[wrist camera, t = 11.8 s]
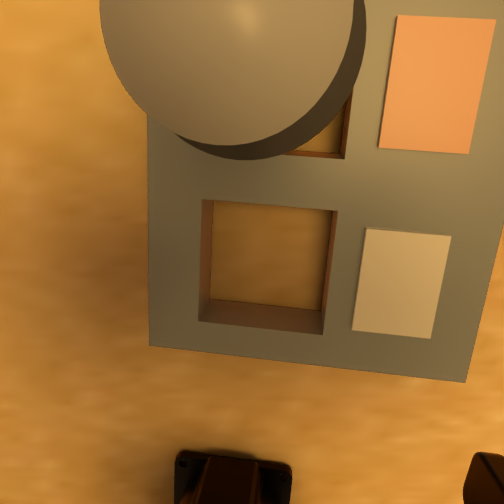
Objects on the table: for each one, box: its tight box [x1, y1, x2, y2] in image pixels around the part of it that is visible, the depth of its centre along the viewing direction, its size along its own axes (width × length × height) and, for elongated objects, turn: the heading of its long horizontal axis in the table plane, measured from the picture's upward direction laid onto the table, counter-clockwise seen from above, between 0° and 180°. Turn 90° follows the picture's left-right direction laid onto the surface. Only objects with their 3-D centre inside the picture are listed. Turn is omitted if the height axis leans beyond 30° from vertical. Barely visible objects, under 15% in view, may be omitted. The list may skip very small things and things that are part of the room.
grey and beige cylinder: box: [100, 0, 367, 160], centre depth 12 cm, size 4×4×14 cm
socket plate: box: [147, 0, 504, 383], centre depth 18 cm, size 16×14×3 cm
